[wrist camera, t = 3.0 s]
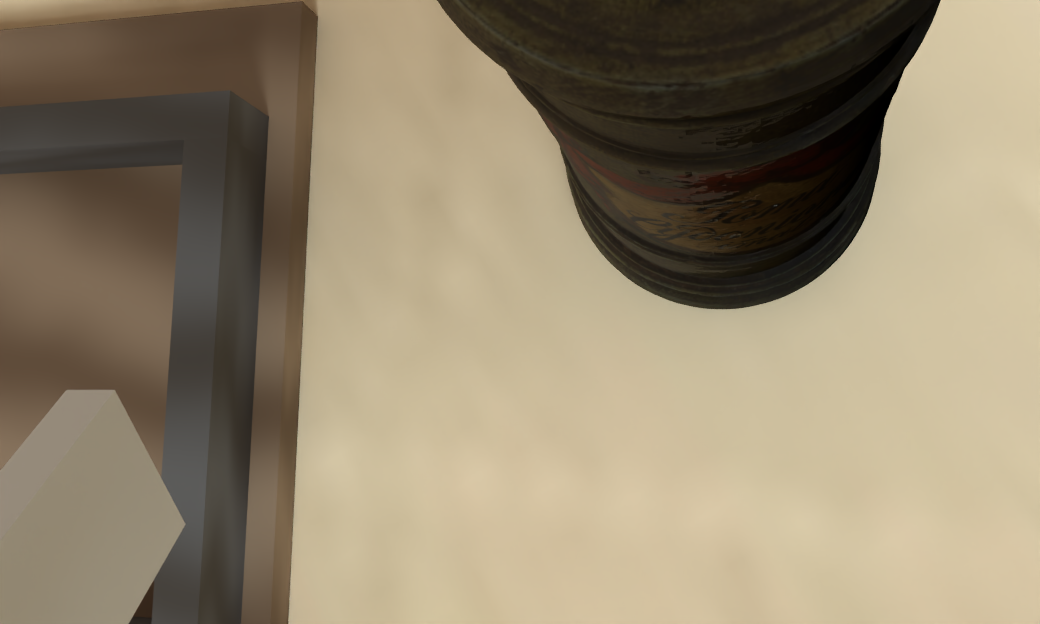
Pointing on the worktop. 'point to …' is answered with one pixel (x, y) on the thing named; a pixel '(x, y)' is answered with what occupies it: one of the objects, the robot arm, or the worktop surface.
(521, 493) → the worktop surface
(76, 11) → the worktop surface
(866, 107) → the container
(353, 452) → the worktop surface
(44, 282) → the holder
